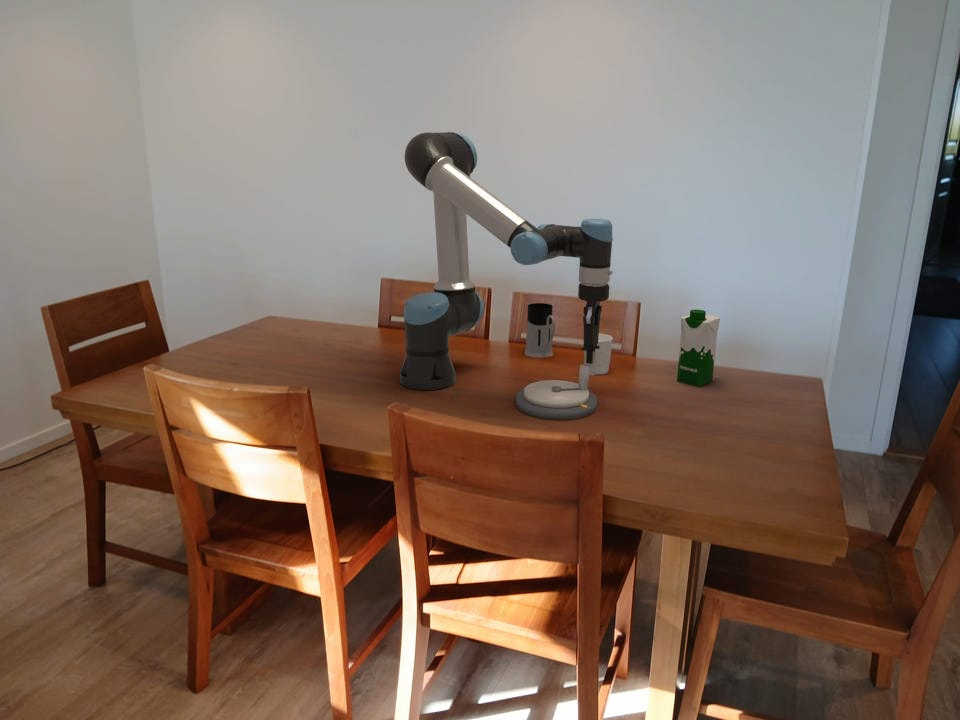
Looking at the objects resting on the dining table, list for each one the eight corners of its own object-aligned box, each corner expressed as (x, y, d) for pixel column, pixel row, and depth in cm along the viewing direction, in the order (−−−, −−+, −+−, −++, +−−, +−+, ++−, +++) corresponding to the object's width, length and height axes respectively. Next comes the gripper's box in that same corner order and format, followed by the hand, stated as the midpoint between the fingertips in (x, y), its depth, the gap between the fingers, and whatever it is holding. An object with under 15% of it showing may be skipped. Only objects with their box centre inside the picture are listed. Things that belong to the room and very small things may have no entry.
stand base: (506, 413, 175) (506, 405, 174) (527, 387, 193) (527, 379, 193) (588, 424, 169) (589, 415, 168) (602, 395, 187) (603, 387, 187)
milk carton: (672, 381, 198) (678, 310, 192) (688, 373, 205) (694, 304, 199) (701, 388, 193) (709, 315, 187) (717, 380, 199) (725, 309, 193)
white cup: (610, 376, 202) (612, 341, 199) (581, 374, 204) (583, 340, 201) (611, 367, 210) (613, 334, 207) (583, 365, 211) (585, 332, 208)
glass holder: (545, 348, 228) (546, 301, 224) (566, 361, 215) (568, 312, 211) (519, 351, 225) (520, 303, 221) (539, 364, 213) (540, 314, 208)
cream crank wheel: (533, 410, 171) (534, 380, 169) (517, 387, 186) (517, 359, 184) (598, 405, 175) (600, 375, 172) (577, 383, 190) (578, 356, 187)
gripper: (605, 289, 171) (599, 383, 179) (613, 279, 183) (608, 368, 190) (573, 287, 174) (569, 380, 181) (583, 277, 185) (579, 365, 193)
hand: (589, 374), depth 186 cm, fingers closed
